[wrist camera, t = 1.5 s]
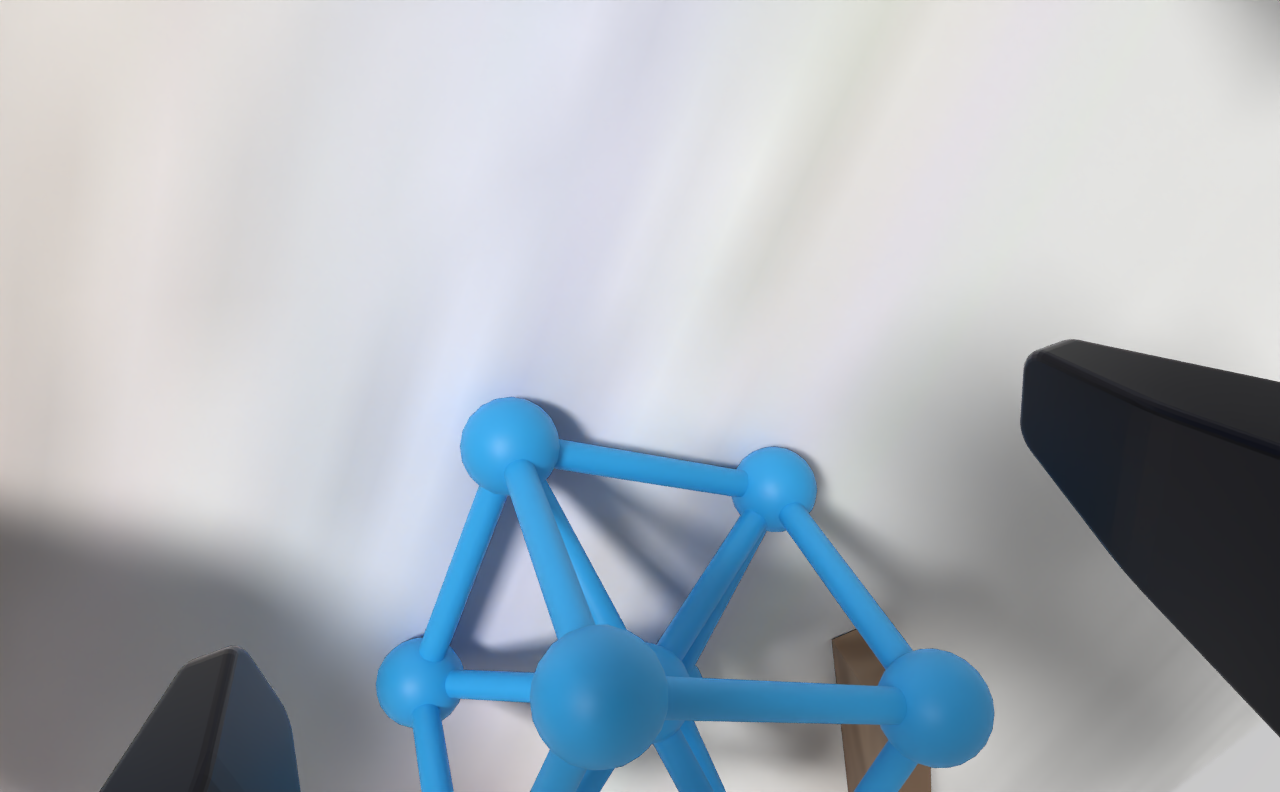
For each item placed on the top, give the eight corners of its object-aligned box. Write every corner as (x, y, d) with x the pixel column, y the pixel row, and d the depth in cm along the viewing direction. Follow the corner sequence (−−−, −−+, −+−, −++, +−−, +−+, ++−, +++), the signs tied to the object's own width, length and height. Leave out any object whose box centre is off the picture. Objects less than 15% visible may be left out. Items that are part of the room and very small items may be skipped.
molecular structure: (806, 437, 26) (1040, 712, 18) (672, 691, 30) (814, 1011, 22) (469, 370, 21) (577, 697, 13) (362, 679, 25) (397, 1077, 17)
